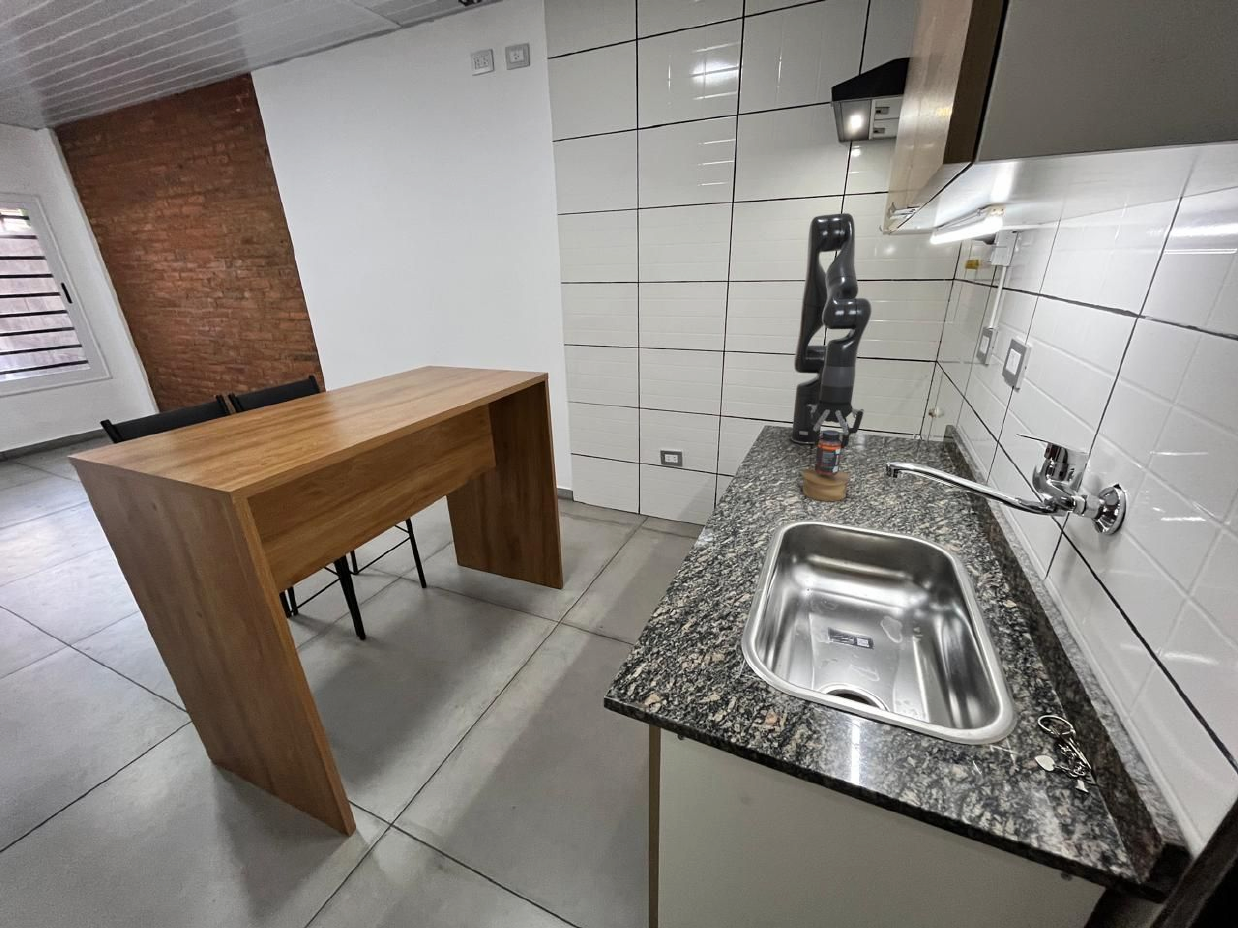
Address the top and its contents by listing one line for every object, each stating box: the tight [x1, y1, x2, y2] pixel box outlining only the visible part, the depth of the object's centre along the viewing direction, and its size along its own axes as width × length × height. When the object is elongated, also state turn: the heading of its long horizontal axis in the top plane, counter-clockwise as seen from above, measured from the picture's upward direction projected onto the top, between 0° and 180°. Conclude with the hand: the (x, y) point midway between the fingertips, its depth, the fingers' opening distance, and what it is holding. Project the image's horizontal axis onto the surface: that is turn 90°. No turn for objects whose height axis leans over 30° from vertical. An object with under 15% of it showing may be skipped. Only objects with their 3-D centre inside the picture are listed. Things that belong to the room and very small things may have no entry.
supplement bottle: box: [814, 429, 843, 476], centre depth 128 cm, size 6×6×11 cm
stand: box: [801, 467, 851, 502], centre depth 131 cm, size 12×12×5 cm
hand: (829, 445), depth 127 cm, fingers closed on supplement bottle, 6 cm apart
